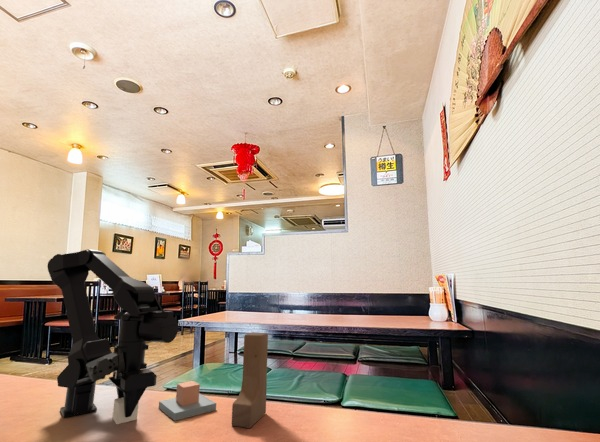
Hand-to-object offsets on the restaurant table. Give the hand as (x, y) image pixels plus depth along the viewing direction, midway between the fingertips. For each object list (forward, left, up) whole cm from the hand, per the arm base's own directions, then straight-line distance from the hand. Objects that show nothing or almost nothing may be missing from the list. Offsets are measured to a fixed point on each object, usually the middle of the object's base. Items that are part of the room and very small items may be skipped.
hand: (125, 413), depth 73 cm
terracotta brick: (+3, +13, 0) cm, 13 cm away
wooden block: (+18, +21, -1) cm, 28 cm away
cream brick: (0, 0, -1) cm, 1 cm away
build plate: (+3, +13, -1) cm, 13 cm away
